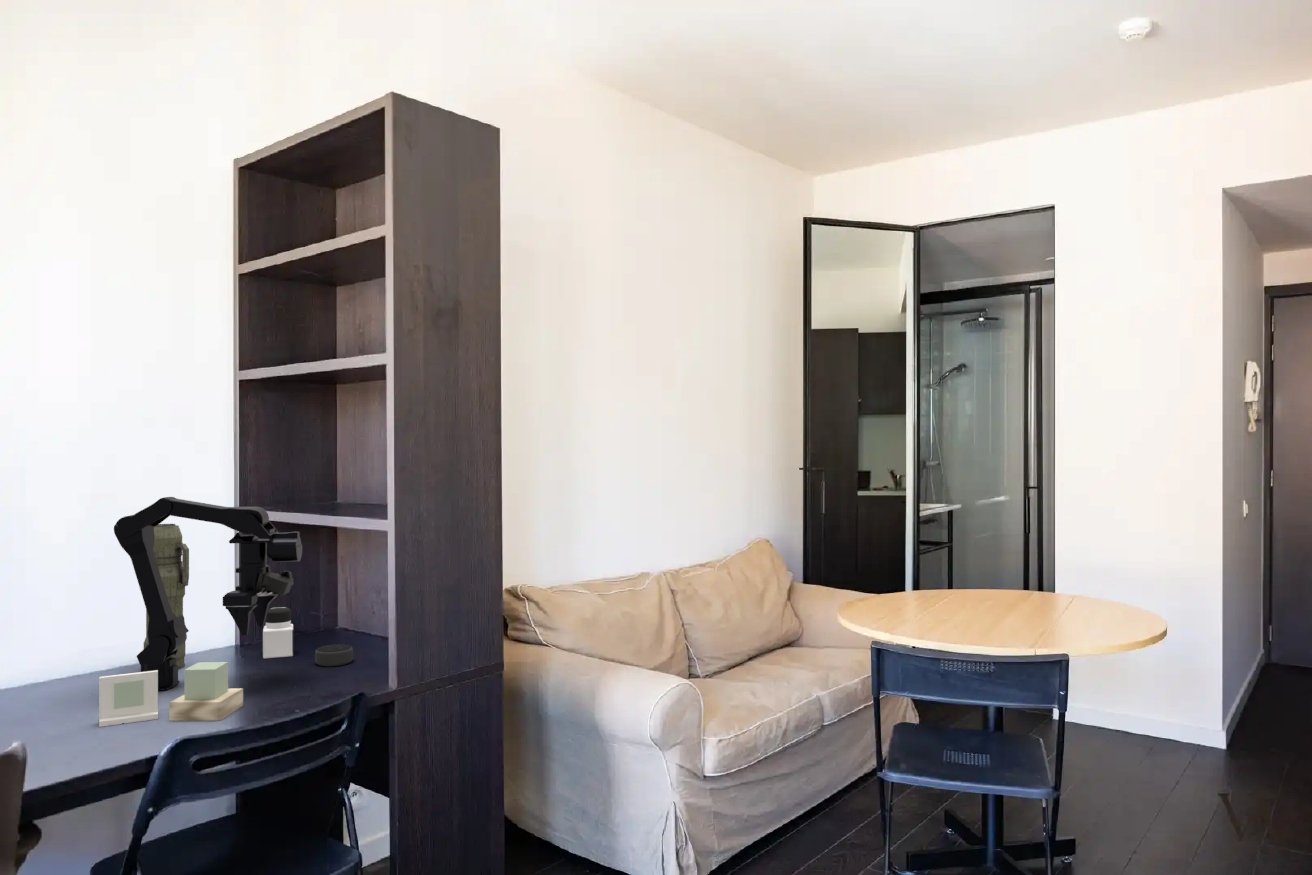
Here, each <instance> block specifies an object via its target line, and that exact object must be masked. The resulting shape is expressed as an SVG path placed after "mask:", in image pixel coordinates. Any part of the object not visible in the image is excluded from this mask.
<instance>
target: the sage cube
mask: <svg viewBox="0 0 1312 875" xmlns="http://www.w3.org/2000/svg"><path fill="white" fill-rule="evenodd" d="M183 673H184V675H183V676H184V677H183V680H184V683H183V685H184V687H183V688H184V692H183V693H184V694H183V695H185V700H209V699H217V698H218V697H220V696H221V695H223V694H224V693H226V692H227V691H228V688H229V662H228V661H212V662H211V661H207V662H205V661H204V662H202V661H201V662H200V661H199V662H198V661H197V662H196V663H194V664H193V665H191V666H189V667H186V668H185V669H184V672H183Z"/></svg>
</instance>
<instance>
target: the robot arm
mask: <svg viewBox="0 0 1312 875" xmlns="http://www.w3.org/2000/svg"><path fill="white" fill-rule="evenodd" d="M170 516H172V517H177V518H178V517H179V518H185V519H190V520H197V521H202V522H208V523H214V524H220V525H222V526H225V527H227V528H229V529H231V530H234V531H237V532H236V533H235V535H234V536H233V537H232V538H231V539H230V540H228V543H229V544H238V567H236V568H235V573H236V574H238V585H236V586H235V590H232V591H230V592H226V593H225V594H224V595H223V596H222V607H225V610H227V611H228V613H229V614H230V616H231V617H232V619H233V621H234V623H235V625H236V626H237V628H238V630H239V632H240V634H241V636H248V635H249V630H250V623H251V622H250V621H251V614H252V613H253V616H254V620H255V622H256V625H257V627H258V628H261V627H263V628H264V626H265V623H266V615H267V611H268V610H269V609H270V608H269V607H270V605H271V603H272V601H273V600H275V598H277V597H278V596H285V595H286V594H289V593H290V590H291V588H292V586H293V585H294V584H295V582H294V579H295V578H293V574H292V573H293V572H291V571H290V570H284V571H282V572H281V573H278V572H276V573H275V572H272V567H271V566H270V565H269V564H267V558H269V559H271V561H272V562H273V563H279V562H281V563H282V562H283V563H284V562H285V563H286V562H291V563H292V562H300V561H301V559H302V555H303V544H302V540H301V536H300V531H291V532H279V531H278V529H277V528H276V527H275V526H274V525H273V523H272V522H271V521H270V517H269V513H268V512H267V511H266V509H265V508H263V507H260V506H222V505H217V504H211V503H205V502H199V501H194V500H188V499H187V500H186V499H181V498H177V497H175V496H166V497H162V498H161V497H160V498H159V499H158V500H156V501H155V502H154V503H152V504H150V505H149V506H147V507H145V508H143V509H141V510H139V511H138V512H136V513H135V514H132V515H131V514H130V515H127V516H126V515H125V516H123V517H120V519H118V520H117V521H116V523H115V524H114V526H113V531H114V535H115V537H116V540H117V541H118V543H119V545H120V547H121V548H122V549H123V551H125V553H126V554H127V555H128V556H129V558H130V559H131V563H132V566H133V571H134V573H135V576H136V580H137V583H138V586H139V590H140V593H141V597H142V599H143V603H144V606H145V610H147V613H148V617H149V622H148V630H147V634H148V644H149V645H148V646H147V647H146V648H145V649H144V648H143V650H141V651H140V652H139V653H138V654H137V655H136V658H137V661H138V663H139V665H140V672H146V671H155V670H158V691H168V690H170V689H172V688H173V687H175V686H177V685H178V684H179V683H180V680H179V669H178V665H177V664H176V658H172V657H173V656H175V655H176V654H177V652H178V649H179V648H180V647H181V646H183V645H184V643H185V644H186V641H187V640H188V638H187V636H188V635H187V633H188V632H190V630H189V629H188V627H187V626H186V622H185V617H184V614H183V615H181V616H179V617H176V615H175V614H174V613H173V612H172V610H171V608H170V605H169V602H168V598H167V595H166V592H165V588H164V585H163V582H162V579H161V575H160V572H159V569H158V565H157V562H156V559H155V555H154V552H153V547H154V539H155V536H154V527H155V526H157V525H158V524H162V523H163V522H164V521H165V520H167V519H168V518H169V517H170ZM245 534H246V535H245ZM251 534H252V535H251Z"/></svg>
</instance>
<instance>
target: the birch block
mask: <svg viewBox="0 0 1312 875" xmlns="http://www.w3.org/2000/svg"><path fill="white" fill-rule="evenodd" d="M168 703H169V705H168V706H169V708H168V710H169V715H168V716H169V719H168V720H169V721H173V722H174V721H176V722H177V721H183V722H184V721H194V722H195V721H200V722H201V721H222V720H223V719H224V718H226V717H227V716H230V715H231V714H232V713H234V712H235V711H237V710H239V709H240V708H241V707H243V706H244V688H243V687H242V688H240V687H239V688H237V687H236V688H231V687H228V691H227V692H226V693H224V694H223V695H221V696H220V697H218V698H217V699H209V700H185V695H184V694H182V695H181V696H178V697H176V698H175V699H173V700H171V701H169V702H168Z"/></svg>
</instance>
